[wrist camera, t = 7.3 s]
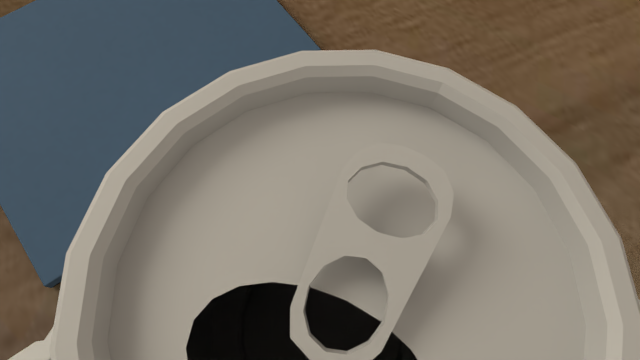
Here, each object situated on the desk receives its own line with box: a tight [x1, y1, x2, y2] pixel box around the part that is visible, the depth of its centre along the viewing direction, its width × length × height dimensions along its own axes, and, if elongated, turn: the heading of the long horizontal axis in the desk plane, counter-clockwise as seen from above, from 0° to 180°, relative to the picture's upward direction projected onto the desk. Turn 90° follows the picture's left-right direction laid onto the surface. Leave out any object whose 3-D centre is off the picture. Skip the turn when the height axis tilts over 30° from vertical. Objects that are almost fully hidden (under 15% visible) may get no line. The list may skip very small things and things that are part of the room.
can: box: [50, 50, 640, 360], centre depth 10 cm, size 8×8×12 cm
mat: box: [0, 0, 321, 288], centre depth 19 cm, size 14×12×1 cm
